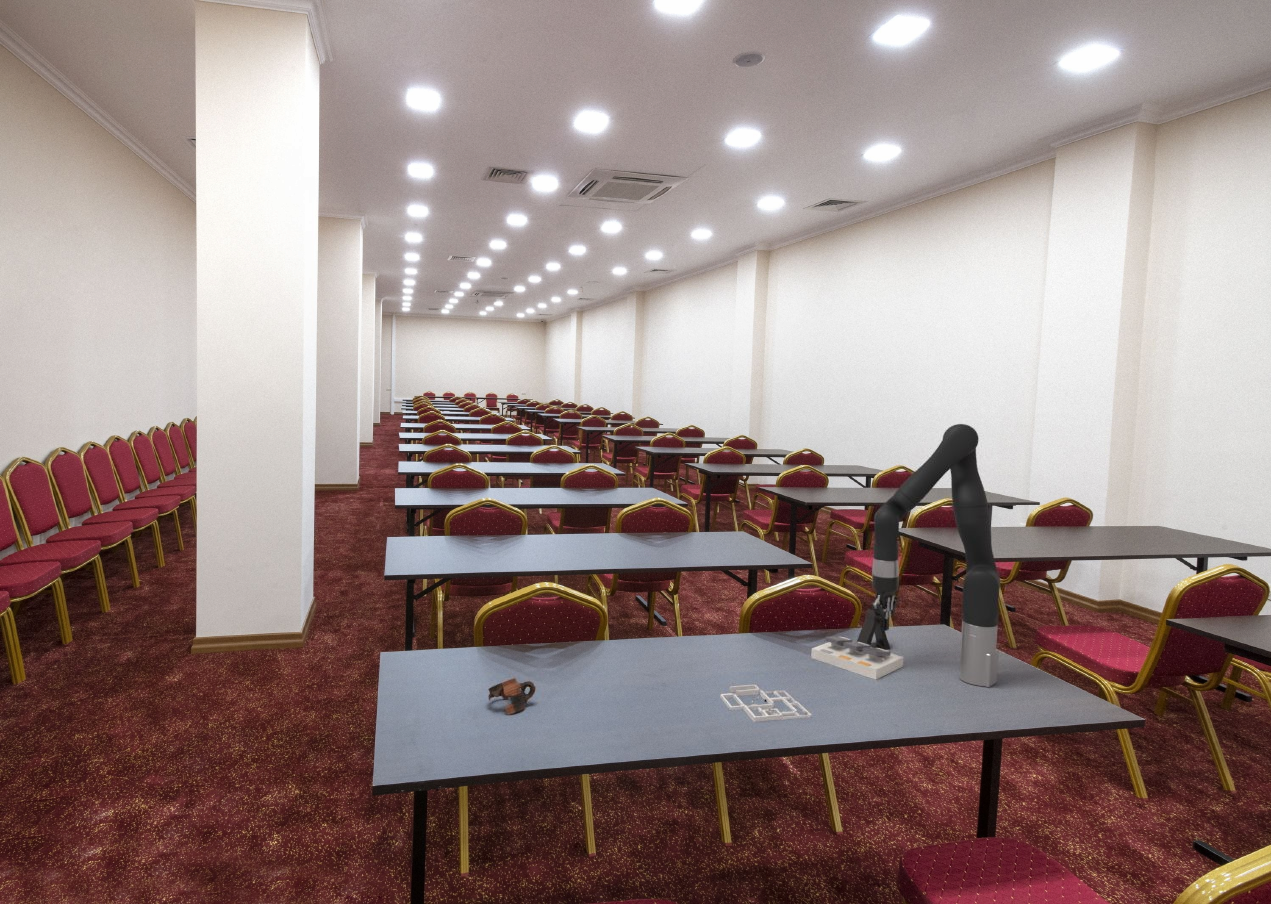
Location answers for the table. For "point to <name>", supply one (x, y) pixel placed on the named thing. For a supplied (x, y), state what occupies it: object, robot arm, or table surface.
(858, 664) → the switch unit
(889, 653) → the rocker
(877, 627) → the phone stand
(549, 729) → the table surface
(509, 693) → the pottery mug
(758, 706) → the floor plan model
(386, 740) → the table surface
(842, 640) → the block
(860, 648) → the block
